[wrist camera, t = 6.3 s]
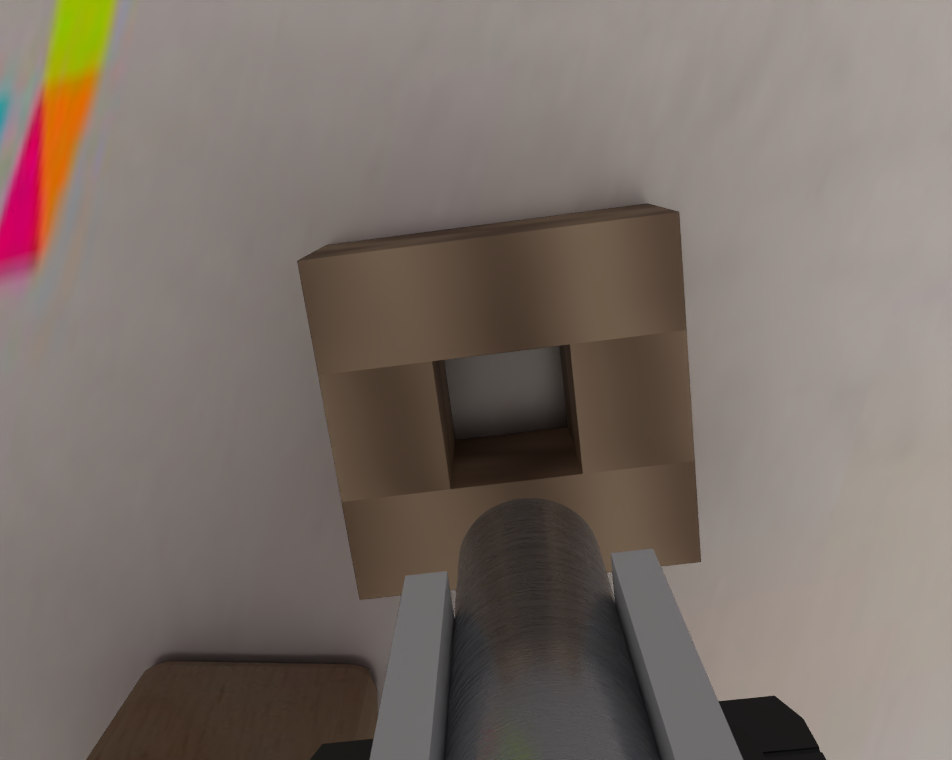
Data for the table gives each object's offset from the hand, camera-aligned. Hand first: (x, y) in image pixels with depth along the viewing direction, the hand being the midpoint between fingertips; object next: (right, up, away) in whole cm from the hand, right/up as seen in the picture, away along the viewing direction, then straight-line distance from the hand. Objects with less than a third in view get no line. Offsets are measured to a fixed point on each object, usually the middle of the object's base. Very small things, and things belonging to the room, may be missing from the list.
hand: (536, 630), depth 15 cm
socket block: (0, +5, +17) cm, 18 cm away
